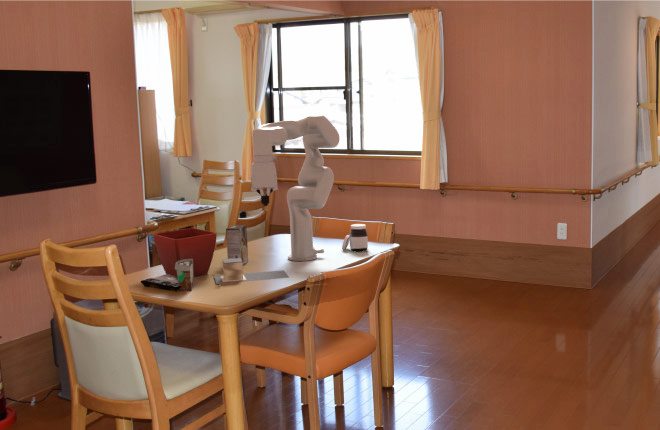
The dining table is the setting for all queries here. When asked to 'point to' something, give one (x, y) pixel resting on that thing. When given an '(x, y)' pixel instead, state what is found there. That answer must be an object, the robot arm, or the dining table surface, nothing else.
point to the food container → (185, 274)
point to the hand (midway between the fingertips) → (265, 205)
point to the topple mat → (254, 276)
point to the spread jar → (356, 238)
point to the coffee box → (237, 242)
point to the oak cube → (232, 269)
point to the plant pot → (185, 249)
